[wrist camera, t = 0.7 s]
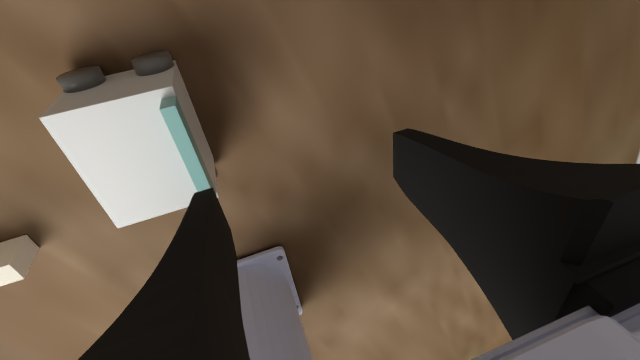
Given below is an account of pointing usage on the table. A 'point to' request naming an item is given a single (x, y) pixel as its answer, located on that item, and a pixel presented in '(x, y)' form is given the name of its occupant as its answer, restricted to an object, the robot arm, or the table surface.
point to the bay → (16, 258)
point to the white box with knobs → (133, 137)
